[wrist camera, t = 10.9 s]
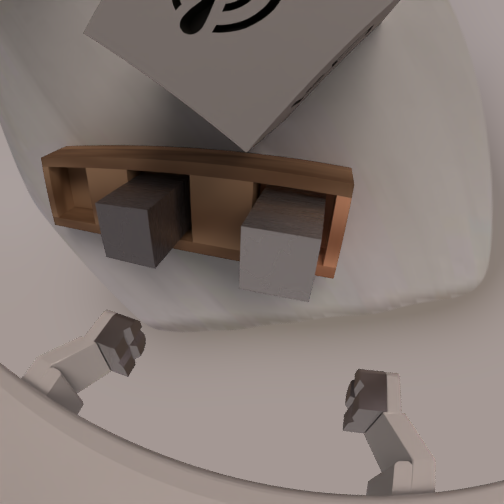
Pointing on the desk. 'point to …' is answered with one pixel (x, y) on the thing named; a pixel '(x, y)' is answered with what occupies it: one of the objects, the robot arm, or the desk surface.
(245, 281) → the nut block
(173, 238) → the block
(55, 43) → the desk surface
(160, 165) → the wooden compartment tray
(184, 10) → the icon cube
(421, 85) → the desk surface
